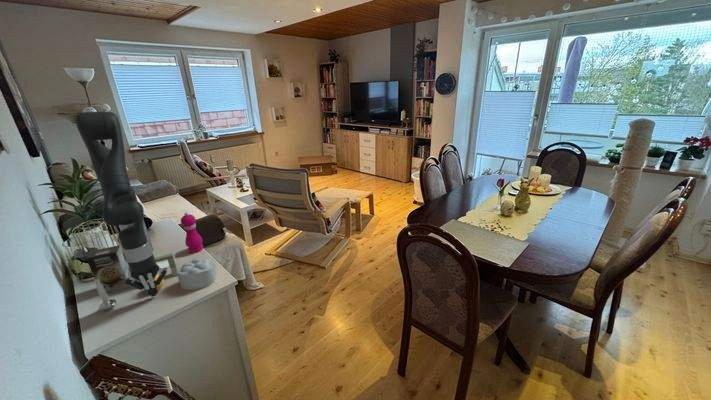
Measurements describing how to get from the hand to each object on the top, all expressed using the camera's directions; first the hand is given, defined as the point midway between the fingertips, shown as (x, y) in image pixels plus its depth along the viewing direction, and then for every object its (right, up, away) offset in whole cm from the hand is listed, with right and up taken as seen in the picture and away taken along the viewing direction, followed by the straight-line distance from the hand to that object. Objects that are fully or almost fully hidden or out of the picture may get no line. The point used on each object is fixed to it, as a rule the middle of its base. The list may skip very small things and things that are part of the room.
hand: (153, 295), depth 106 cm
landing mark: (-13, +7, +22) cm, 27 cm away
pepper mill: (-2, +11, +32) cm, 34 cm away
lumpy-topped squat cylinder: (+12, +2, +9) cm, 15 cm away
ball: (-3, +3, +4) cm, 6 cm away
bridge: (-6, +3, +11) cm, 13 cm away
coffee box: (-20, +1, +8) cm, 22 cm away
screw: (-13, -4, -4) cm, 14 cm away
